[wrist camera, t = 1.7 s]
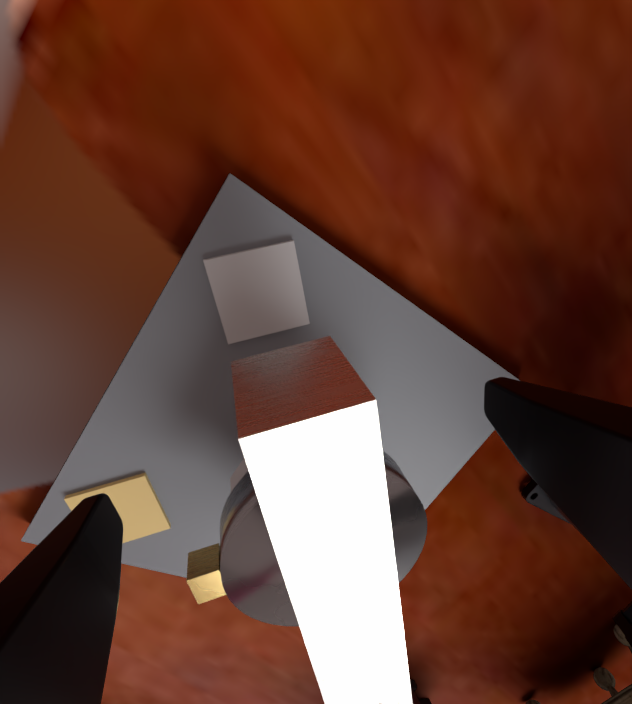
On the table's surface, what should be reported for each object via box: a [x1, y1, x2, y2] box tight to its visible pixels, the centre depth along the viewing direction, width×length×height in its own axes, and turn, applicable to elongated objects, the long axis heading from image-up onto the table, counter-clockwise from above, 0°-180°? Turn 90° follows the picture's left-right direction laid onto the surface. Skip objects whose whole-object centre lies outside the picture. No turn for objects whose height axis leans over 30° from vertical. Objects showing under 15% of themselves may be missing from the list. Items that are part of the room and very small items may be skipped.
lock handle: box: [187, 336, 427, 704], centre depth 12 cm, size 15×8×5 cm, turn 10°
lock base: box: [21, 173, 520, 578], centre depth 16 cm, size 16×16×4 cm
